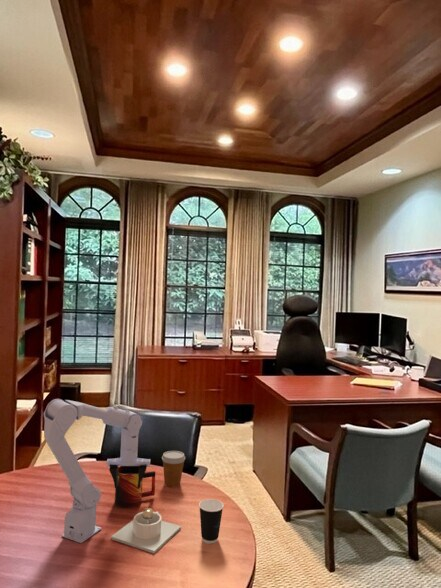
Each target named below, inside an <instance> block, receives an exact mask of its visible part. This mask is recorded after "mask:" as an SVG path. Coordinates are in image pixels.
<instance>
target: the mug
mask: <svg viewBox="0 0 441 588" xmlns="http://www.w3.org/2000/svg"><path fill="white" fill-rule="evenodd" d="M147 478H151V489H150V490H149V491H148V490H147V491H143V479H147ZM138 479H139V466H118V486H117V488H115V487H114V489H115V492H114V505H115V507H118V508H120V509H133V508H137V507H138V506H141V503H142V498H146V497H153V496H155V494H156V471H155V470H154V471H147V472H146V471H145V473H144V475H143V477H142V480H141V483H140V488H138Z"/></svg>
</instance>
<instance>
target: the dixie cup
mask: <svg viewBox="0 0 441 588" xmlns="http://www.w3.org/2000/svg"><path fill="white" fill-rule="evenodd" d="M224 506H225V505H224V503H223V502H222V501H220V500H218V499H215V498H207V499H203V500H201V501H199V504H198V507H199V517H200V534H201V535H200V536H201V539H202V540H201V541H202V542H203V543H205V544H210V545H211V544H212V545H213V544H215V543H216V542H218V538H219V534H220V529H221V522H222V521H221V520H222V516H223V510H224Z"/></svg>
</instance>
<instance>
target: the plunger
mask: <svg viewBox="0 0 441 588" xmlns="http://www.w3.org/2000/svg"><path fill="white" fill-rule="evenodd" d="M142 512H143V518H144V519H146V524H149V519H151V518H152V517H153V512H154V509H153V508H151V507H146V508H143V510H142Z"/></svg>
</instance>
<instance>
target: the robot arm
mask: <svg viewBox="0 0 441 588" xmlns="http://www.w3.org/2000/svg"><path fill="white" fill-rule="evenodd" d="M43 417H44V428H43V430H44V431H43V438H44V440H45V442H46V443H47V446H48V447H49V449H50V450H51V451H50V452H51V453H52V454H53V455H54V458H55V459H56V462H57V463H58V464H59V466H60V468H61V469H62V472H63V473H64V475H65V476H66V478H67V480H68V483H67V484H68V485H69V488H70V491H69V492H70V495H71V497H72V498H73V500H72V501H73V502H72V507H71V508H70V510H69V511H67V513H66V514H65V516H64V527H63V528H64V529H63V533H62V535H61V537H63V538H66V539H69V540H71V541H74V542H76V543H80V544H82V543H84V542H85V541H87V540H89V538H91V537H92V536H94V535H96V533H98V532H99V531H101V530H102V527H100V526H97V525H96V523H97V522H96V521H97V505H98V503H99V502H100V500H101V497H102V493H101V490H100V488H98V487H96V486H95V485H94V484H93V483H92V481H91V479H89V478H88V476H87V475H86V474H85V471H84V470H83V468H82V466H81V464H80V462H79V461H78V459H77V457H76V456H75V453H74V452H73V450H72V448H71V446H70V444H69V443H68V441H67V439H66V438H65V436H66V433H67V432H68V431H69V429H70V428H71V427H72V425H73V424H74V423H75V421H76V420H77V421H79V420H81V418H83V417H88V418H95V419H99V420H102V423H103V424H104V425H108V426H112V427H116V428H121V433H120V434H121V435H120V436H121V438H120V453H119V454H120V456H119V457H117V458H116V457H115V458H107V460H106V467H109V468H108V470H109V473H110V475H111V477H112V480H113V483H114V484H113V485H114V489H115V488H117V486H118V467H120V466H139V479H138V488H140V483H141V480H142V477H143V475H144V473H146V471H147V467H148V468H150V467H151V458H140V457H138V451H139V450H138V449H139V448H138V447H139V445H138V444H139V434H140V429H141V427H142V425H143V422H144V421H143V420H142V418H141V416H140V415H139V414H138V413H136V412H133V411H131V410H129V409H121V408H119V407H118V406H116V405H112V406H107V407H106V408H102V407H97V406H94V405H90V404H87V403H84V402H80V401H77V400H76V401H74V400H70V399H64V400H63V399H61V398H55V399H54V398H53V399H52V400H51V401H50V402H48V403H47V405H46V408H45V410H44V411H43ZM142 481H143V480H142Z"/></svg>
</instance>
